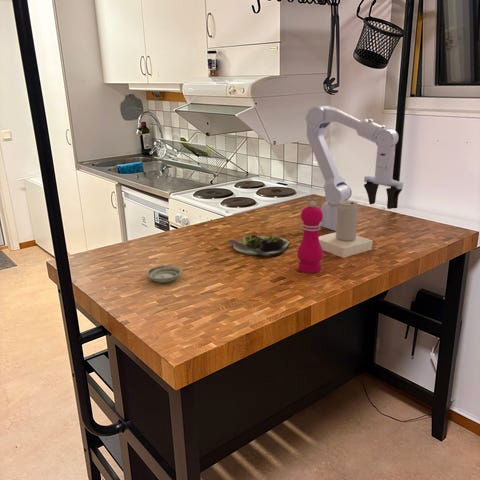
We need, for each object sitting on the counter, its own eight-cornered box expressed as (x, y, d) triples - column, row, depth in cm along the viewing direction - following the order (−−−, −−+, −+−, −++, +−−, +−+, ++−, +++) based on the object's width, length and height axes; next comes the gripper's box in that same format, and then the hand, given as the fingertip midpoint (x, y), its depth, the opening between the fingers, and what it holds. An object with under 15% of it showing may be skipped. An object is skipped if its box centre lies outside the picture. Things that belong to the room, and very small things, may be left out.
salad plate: (217, 253, 149) (217, 239, 148) (240, 237, 165) (240, 224, 163) (275, 262, 142) (275, 247, 140) (293, 244, 157) (294, 231, 156)
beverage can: (354, 242, 148) (357, 205, 144) (333, 240, 150) (336, 203, 146) (357, 236, 154) (359, 200, 150) (337, 234, 156) (339, 199, 152)
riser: (313, 246, 154) (314, 237, 153) (341, 239, 161) (342, 230, 160) (343, 257, 144) (344, 248, 143) (371, 249, 151) (372, 240, 150)
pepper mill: (292, 266, 138) (294, 199, 131) (314, 263, 140) (317, 197, 134) (304, 275, 131) (307, 205, 125) (327, 271, 134) (330, 202, 127)
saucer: (189, 278, 130) (189, 270, 129) (162, 290, 123) (162, 281, 122) (165, 270, 136) (165, 262, 135) (139, 280, 129) (138, 272, 128)
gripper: (410, 168, 154) (406, 208, 158) (375, 162, 165) (371, 200, 169) (396, 170, 150) (392, 211, 154) (361, 164, 161) (358, 203, 166)
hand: (380, 206), depth 162 cm, fingers open, 7 cm apart
